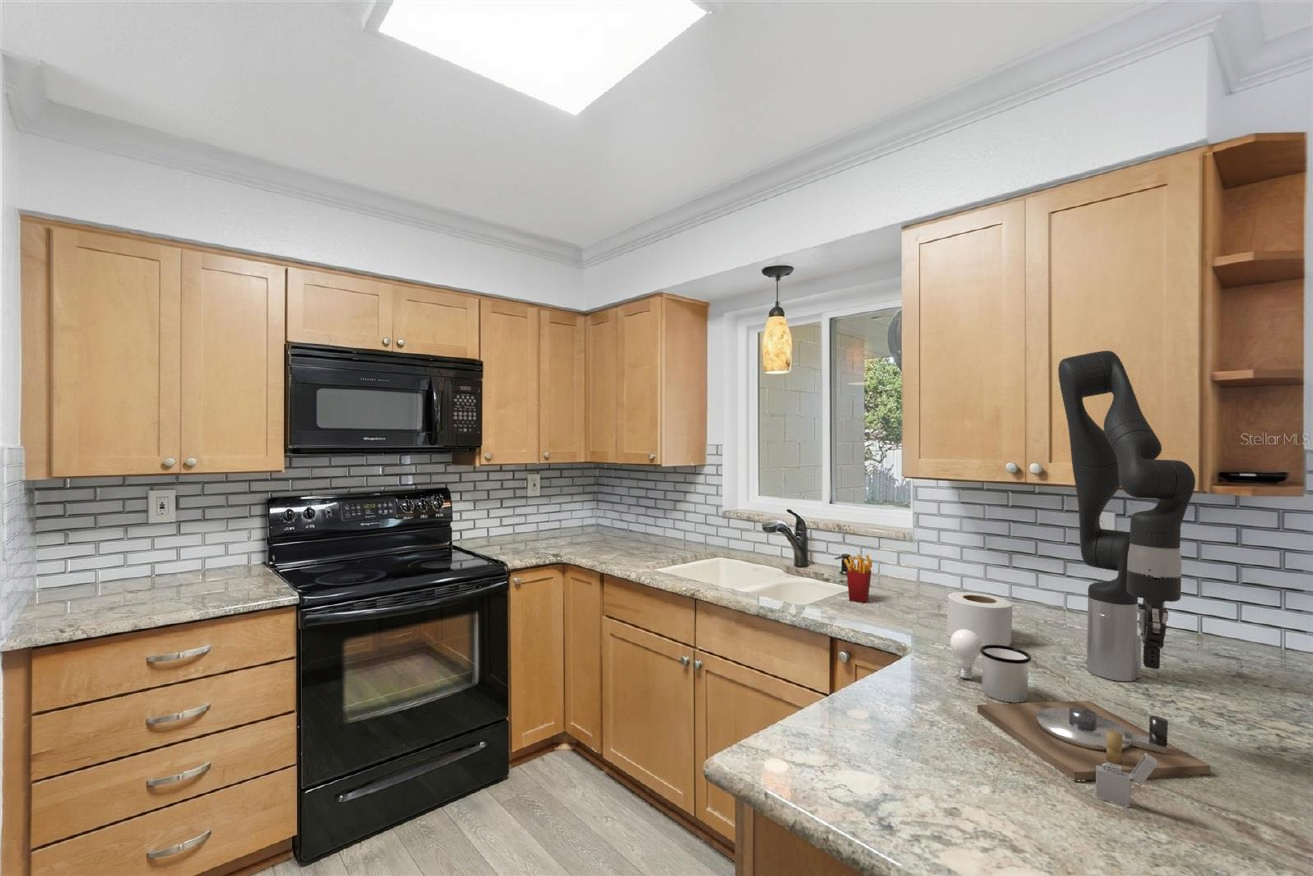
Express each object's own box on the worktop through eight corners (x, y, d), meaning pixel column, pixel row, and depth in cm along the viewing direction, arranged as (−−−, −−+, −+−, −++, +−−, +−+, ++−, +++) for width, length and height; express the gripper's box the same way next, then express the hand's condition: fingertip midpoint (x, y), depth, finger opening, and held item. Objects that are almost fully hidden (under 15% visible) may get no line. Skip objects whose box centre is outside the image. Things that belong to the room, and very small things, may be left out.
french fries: (866, 604, 196) (867, 558, 196) (840, 600, 201) (841, 554, 200) (873, 598, 203) (874, 553, 203) (848, 594, 208) (849, 550, 208)
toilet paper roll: (998, 631, 171) (999, 593, 171) (1021, 650, 156) (1022, 608, 156) (939, 627, 174) (940, 589, 174) (956, 645, 158) (957, 604, 158)
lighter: (1095, 798, 91) (1096, 745, 91) (1095, 792, 93) (1096, 740, 93) (1156, 815, 87) (1157, 760, 87) (1155, 809, 89) (1156, 755, 89)
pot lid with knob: (1035, 735, 107) (1035, 707, 107) (1037, 706, 119) (1038, 681, 119) (1173, 769, 97) (1174, 738, 97) (1161, 734, 108) (1161, 706, 108)
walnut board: (1088, 708, 122) (1089, 678, 122) (1210, 774, 98) (1210, 737, 98) (977, 712, 120) (977, 682, 120) (1074, 781, 96) (1075, 743, 96)
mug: (1023, 709, 121) (1024, 664, 121) (972, 694, 128) (973, 651, 128) (1039, 692, 130) (1039, 649, 130) (990, 679, 137) (991, 638, 136)
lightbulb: (985, 685, 133) (986, 635, 133) (953, 682, 134) (954, 633, 134) (976, 674, 139) (976, 626, 139) (946, 672, 140) (947, 624, 140)
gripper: (1124, 562, 117) (1122, 652, 117) (1130, 573, 106) (1127, 673, 106) (1175, 567, 113) (1173, 661, 112) (1187, 580, 102) (1184, 684, 102)
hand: (1151, 667), depth 109 cm, fingers closed
